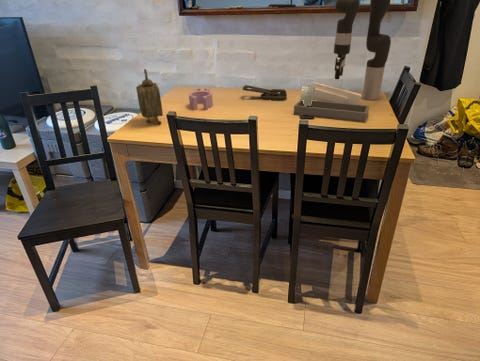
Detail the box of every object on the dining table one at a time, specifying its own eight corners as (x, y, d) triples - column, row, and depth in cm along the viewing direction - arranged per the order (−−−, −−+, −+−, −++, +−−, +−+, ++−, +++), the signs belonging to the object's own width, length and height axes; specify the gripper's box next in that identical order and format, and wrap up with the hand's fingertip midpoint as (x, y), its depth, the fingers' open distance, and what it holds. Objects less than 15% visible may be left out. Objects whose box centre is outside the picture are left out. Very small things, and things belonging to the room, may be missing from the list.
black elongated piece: (244, 84, 203) (287, 85, 198) (244, 95, 206) (287, 97, 202) (241, 88, 195) (286, 89, 191) (241, 100, 198) (285, 101, 194)
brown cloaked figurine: (164, 125, 165) (156, 71, 153) (145, 128, 163) (135, 73, 150) (159, 116, 177) (152, 65, 165) (141, 118, 174) (132, 67, 162)
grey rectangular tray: (300, 107, 183) (300, 99, 181) (367, 114, 171) (369, 105, 169) (293, 114, 174) (294, 105, 172) (364, 122, 161) (366, 113, 159)
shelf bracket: (308, 103, 189) (314, 81, 183) (353, 116, 185) (362, 93, 178) (306, 106, 185) (313, 83, 178) (353, 119, 180) (361, 96, 173)
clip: (192, 100, 201) (191, 88, 198) (214, 99, 201) (213, 87, 198) (188, 111, 184) (187, 98, 180) (212, 110, 184) (211, 97, 180)
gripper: (348, 45, 160) (343, 81, 168) (352, 41, 171) (348, 75, 179) (331, 44, 163) (328, 79, 171) (337, 40, 174) (333, 73, 182)
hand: (338, 77), depth 175 cm, fingers open, 8 cm apart
